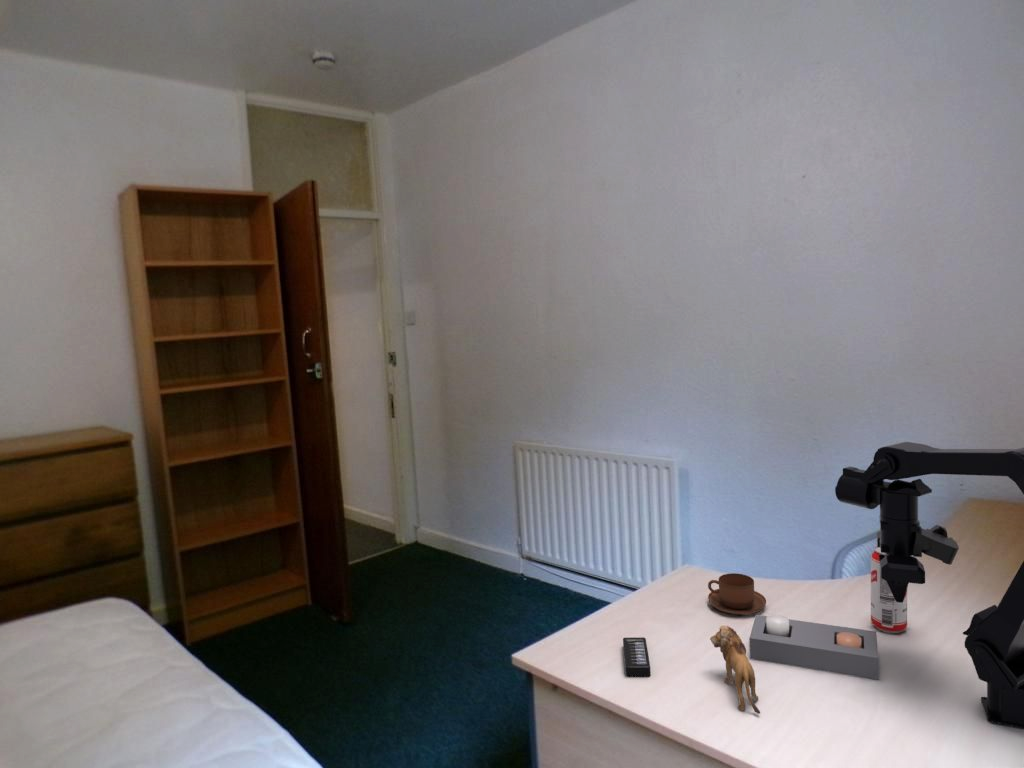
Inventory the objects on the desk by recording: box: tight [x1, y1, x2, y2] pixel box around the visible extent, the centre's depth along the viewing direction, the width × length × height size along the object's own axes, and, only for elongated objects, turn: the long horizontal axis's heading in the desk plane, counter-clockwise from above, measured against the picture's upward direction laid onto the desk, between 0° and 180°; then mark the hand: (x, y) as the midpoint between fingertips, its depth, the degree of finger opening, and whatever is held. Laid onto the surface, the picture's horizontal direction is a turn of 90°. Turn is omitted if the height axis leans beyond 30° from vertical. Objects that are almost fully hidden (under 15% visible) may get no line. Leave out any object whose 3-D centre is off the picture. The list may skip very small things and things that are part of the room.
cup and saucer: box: [707, 572, 767, 615], centre depth 143 cm, size 12×12×6 cm
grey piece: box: [766, 614, 789, 637], centre depth 124 cm, size 4×4×4 cm
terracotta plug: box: [837, 632, 862, 648], centre depth 119 cm, size 4×4×4 cm
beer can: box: [870, 545, 908, 634], centre depth 129 cm, size 6×6×16 cm
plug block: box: [748, 614, 880, 681], centre depth 122 cm, size 10×21×4 cm, turn 63°
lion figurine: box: [709, 625, 761, 715], centre depth 112 cm, size 15×5×9 cm, turn 5°
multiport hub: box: [622, 636, 652, 678], centre depth 124 cm, size 4×11×2 cm, turn 173°
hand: (899, 601), depth 115 cm, fingers closed
